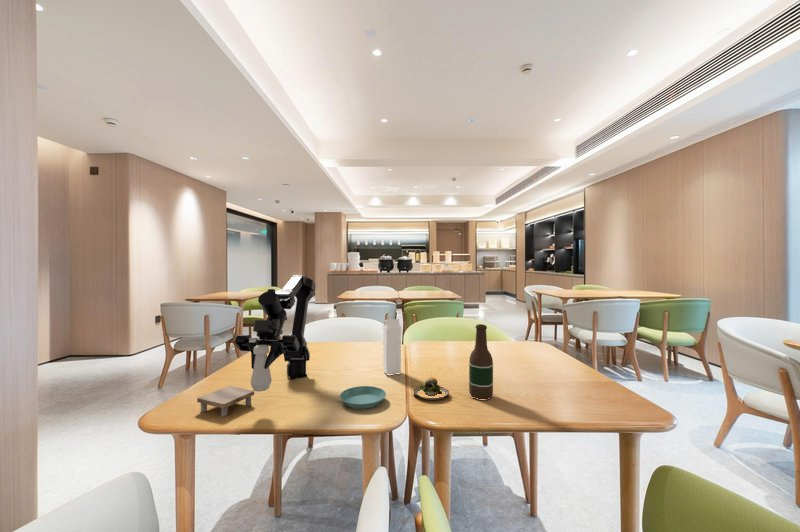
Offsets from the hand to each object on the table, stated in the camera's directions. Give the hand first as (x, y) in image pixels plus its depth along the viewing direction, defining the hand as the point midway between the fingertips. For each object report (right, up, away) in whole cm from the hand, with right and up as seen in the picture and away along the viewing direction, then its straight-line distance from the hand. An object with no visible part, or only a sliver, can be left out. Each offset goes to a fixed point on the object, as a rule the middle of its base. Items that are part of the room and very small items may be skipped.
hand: (258, 368), depth 98 cm
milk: (+38, -14, +37) cm, 55 cm away
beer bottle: (+69, -14, +14) cm, 72 cm away
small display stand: (-12, -13, +4) cm, 18 cm away
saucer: (+30, -14, +9) cm, 34 cm away
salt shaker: (0, -7, +1) cm, 7 cm away
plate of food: (+52, -14, +14) cm, 56 cm away
